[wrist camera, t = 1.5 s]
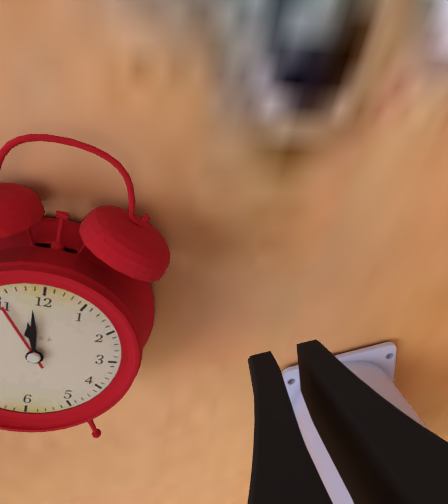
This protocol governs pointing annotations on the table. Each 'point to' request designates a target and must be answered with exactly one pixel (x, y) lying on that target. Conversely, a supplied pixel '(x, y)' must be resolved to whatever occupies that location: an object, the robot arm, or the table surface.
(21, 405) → the alarm clock
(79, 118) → the table surface
